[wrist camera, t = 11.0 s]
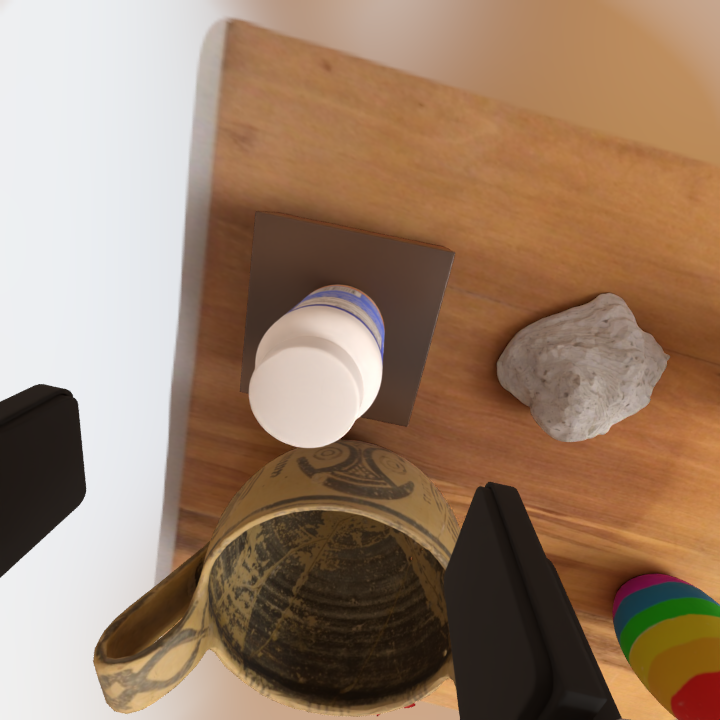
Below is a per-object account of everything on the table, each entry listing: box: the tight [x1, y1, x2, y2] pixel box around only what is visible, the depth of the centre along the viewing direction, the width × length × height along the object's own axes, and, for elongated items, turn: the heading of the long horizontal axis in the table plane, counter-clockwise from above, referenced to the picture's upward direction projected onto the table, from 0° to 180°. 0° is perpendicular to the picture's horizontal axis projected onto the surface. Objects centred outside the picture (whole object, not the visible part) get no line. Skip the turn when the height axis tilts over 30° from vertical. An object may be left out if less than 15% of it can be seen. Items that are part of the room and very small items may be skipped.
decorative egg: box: [613, 574, 720, 720], centre depth 28 cm, size 8×8×10 cm
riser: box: [240, 211, 455, 427], centre depth 24 cm, size 11×11×4 cm
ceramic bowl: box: [93, 439, 461, 717], centre depth 24 cm, size 22×17×15 cm
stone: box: [497, 293, 670, 442], centre depth 25 cm, size 10×5×10 cm
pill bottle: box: [249, 285, 385, 448], centre depth 18 cm, size 5×5×10 cm
